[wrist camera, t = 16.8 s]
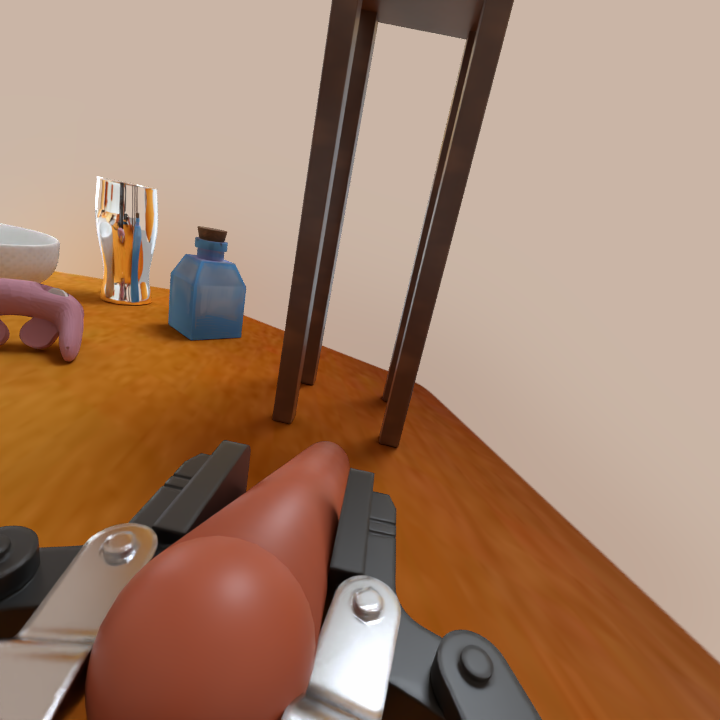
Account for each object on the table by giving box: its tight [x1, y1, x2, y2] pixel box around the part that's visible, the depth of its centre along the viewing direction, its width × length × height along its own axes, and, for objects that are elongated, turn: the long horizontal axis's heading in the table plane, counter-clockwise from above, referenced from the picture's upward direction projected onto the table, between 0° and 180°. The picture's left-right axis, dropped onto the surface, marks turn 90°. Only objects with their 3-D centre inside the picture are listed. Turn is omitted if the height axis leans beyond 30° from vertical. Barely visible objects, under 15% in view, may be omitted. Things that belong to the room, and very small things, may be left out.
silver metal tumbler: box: [95, 177, 158, 305], centre depth 52 cm, size 7×7×15 cm
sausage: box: [85, 441, 350, 720], centre depth 15 cm, size 21×3×3 cm, turn 175°
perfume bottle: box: [168, 226, 246, 340], centre depth 46 cm, size 6×6×12 cm
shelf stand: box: [272, 0, 514, 447], centre depth 30 cm, size 10×10×33 cm
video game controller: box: [0, 278, 84, 362], centre depth 32 cm, size 10×5×7 cm, turn 115°
